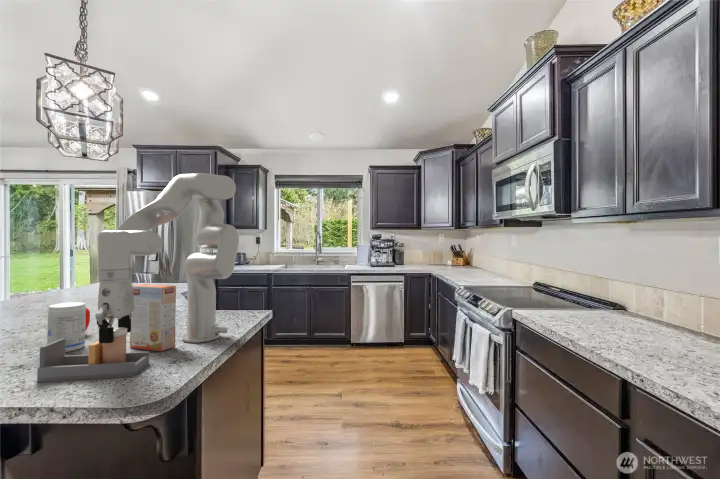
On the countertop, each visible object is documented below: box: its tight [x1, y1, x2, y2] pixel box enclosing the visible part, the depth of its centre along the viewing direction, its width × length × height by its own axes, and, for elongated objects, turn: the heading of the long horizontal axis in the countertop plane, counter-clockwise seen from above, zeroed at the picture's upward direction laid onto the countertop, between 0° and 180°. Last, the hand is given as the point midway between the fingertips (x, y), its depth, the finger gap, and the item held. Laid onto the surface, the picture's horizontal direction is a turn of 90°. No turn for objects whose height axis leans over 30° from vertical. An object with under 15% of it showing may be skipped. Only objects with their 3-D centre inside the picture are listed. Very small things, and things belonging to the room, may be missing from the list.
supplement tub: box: [46, 301, 87, 353], centre depth 112 cm, size 10×10×15 cm
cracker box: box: [129, 283, 177, 353], centre depth 115 cm, size 14×6×21 cm, turn 71°
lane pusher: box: [87, 339, 102, 364], centre depth 93 cm, size 2×7×7 cm, turn 11°
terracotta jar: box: [102, 327, 128, 364], centre depth 94 cm, size 6×6×10 cm
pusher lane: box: [36, 338, 150, 383], centre depth 93 cm, size 22×10×8 cm, turn 101°
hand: (116, 337), depth 94 cm, fingers open, 9 cm apart
